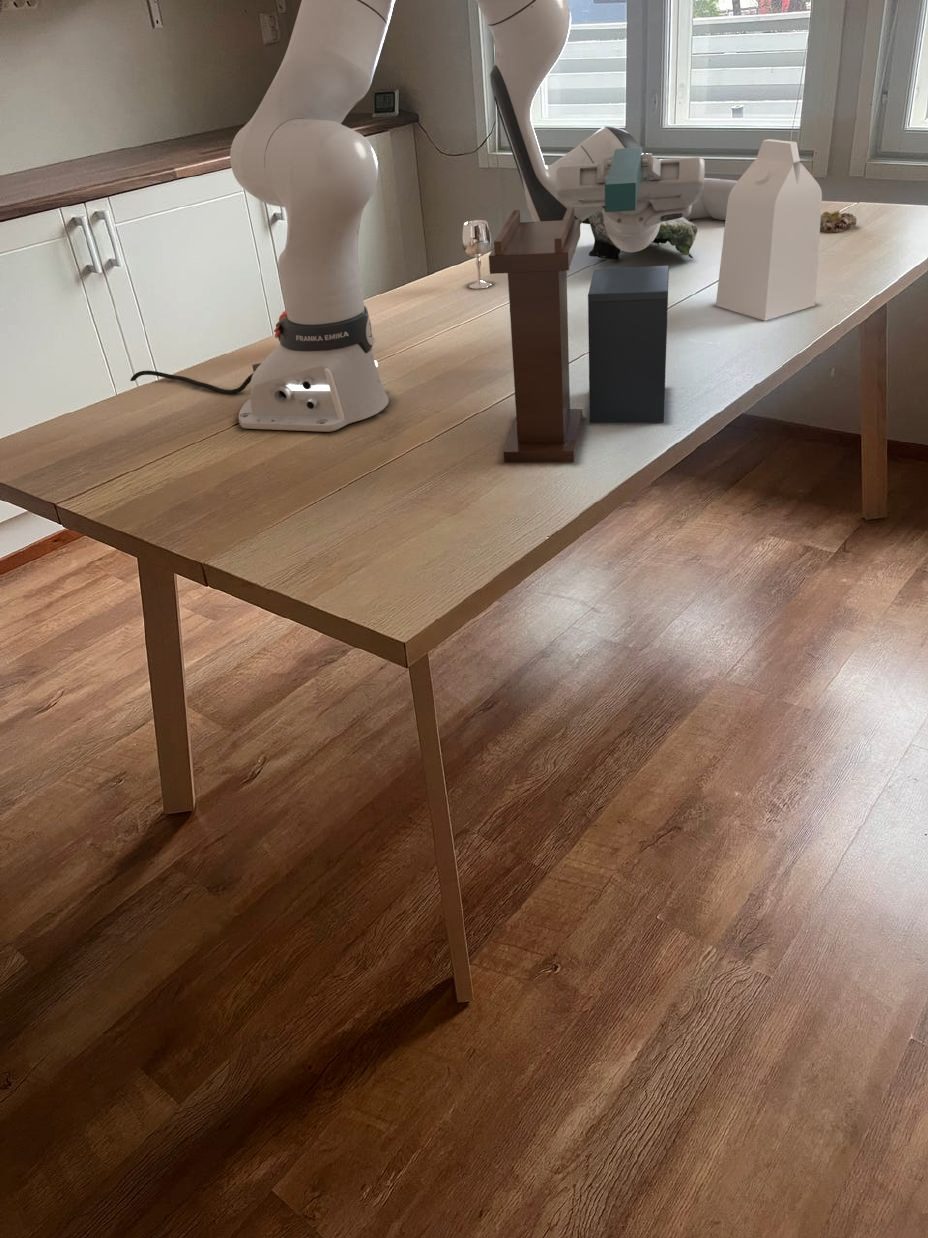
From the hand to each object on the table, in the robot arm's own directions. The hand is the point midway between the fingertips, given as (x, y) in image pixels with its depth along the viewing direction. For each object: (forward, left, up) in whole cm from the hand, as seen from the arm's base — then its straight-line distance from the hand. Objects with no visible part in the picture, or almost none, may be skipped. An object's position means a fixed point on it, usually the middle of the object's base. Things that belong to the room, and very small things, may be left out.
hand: (627, 160), depth 125 cm
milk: (+25, +33, -30) cm, 52 cm away
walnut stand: (-12, -20, -30) cm, 38 cm away
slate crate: (0, -9, -30) cm, 32 cm away
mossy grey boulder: (+3, +71, -30) cm, 78 cm away
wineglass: (-27, +57, -30) cm, 70 cm away
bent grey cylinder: (+23, +100, -30) cm, 107 cm away
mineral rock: (+47, +85, -30) cm, 102 cm away
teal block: (-1, -9, -2) cm, 9 cm away
